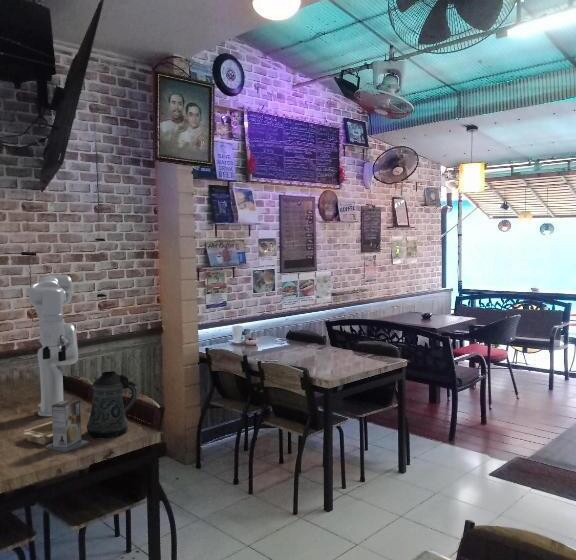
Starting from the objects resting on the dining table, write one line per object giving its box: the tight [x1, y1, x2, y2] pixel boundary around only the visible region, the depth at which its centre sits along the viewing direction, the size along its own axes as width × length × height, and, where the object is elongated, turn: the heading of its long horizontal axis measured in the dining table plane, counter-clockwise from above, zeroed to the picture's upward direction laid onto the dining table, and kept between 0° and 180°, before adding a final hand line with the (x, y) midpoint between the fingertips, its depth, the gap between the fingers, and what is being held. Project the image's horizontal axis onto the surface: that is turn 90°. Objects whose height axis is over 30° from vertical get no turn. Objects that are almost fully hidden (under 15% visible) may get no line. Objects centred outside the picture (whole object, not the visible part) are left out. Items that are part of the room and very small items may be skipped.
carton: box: [22, 421, 53, 446], centre depth 226 cm, size 16×19×4 cm
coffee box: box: [51, 398, 82, 448], centre depth 216 cm, size 9×6×16 cm
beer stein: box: [86, 371, 138, 439], centre depth 232 cm, size 16×19×25 cm
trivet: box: [45, 439, 90, 453], centre depth 216 cm, size 11×11×1 cm
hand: (54, 359), depth 231 cm, fingers open, 9 cm apart
